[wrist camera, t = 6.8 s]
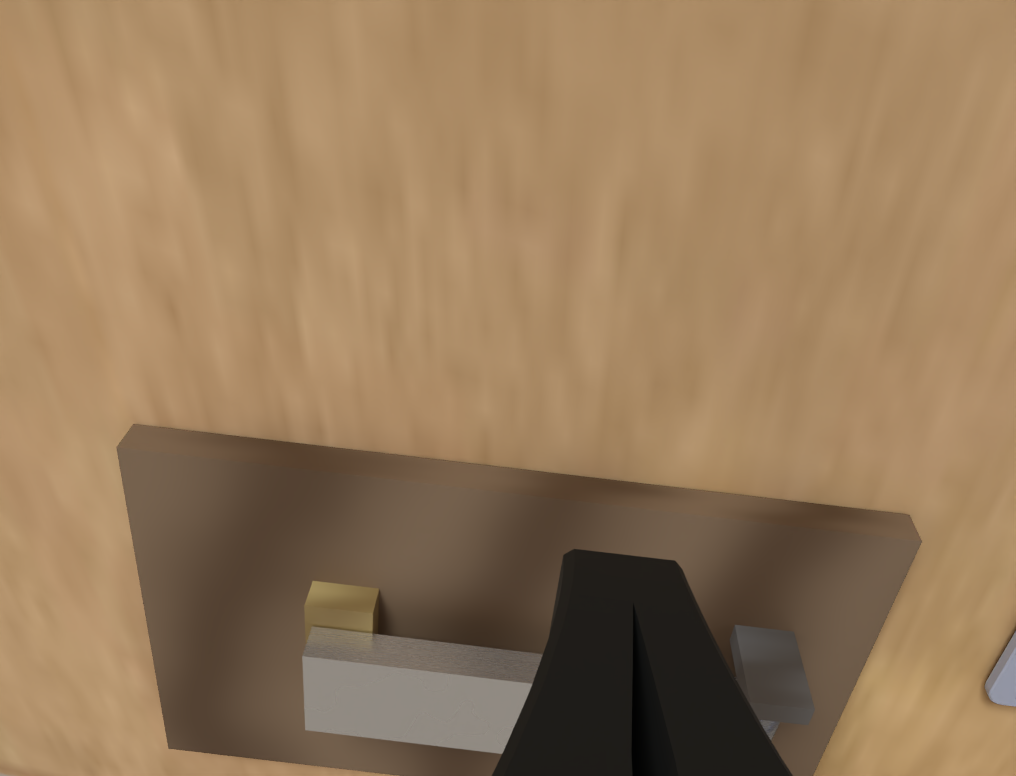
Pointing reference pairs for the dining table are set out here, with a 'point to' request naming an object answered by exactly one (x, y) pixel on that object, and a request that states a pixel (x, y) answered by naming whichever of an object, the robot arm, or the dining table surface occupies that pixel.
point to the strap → (418, 689)
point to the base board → (467, 582)
